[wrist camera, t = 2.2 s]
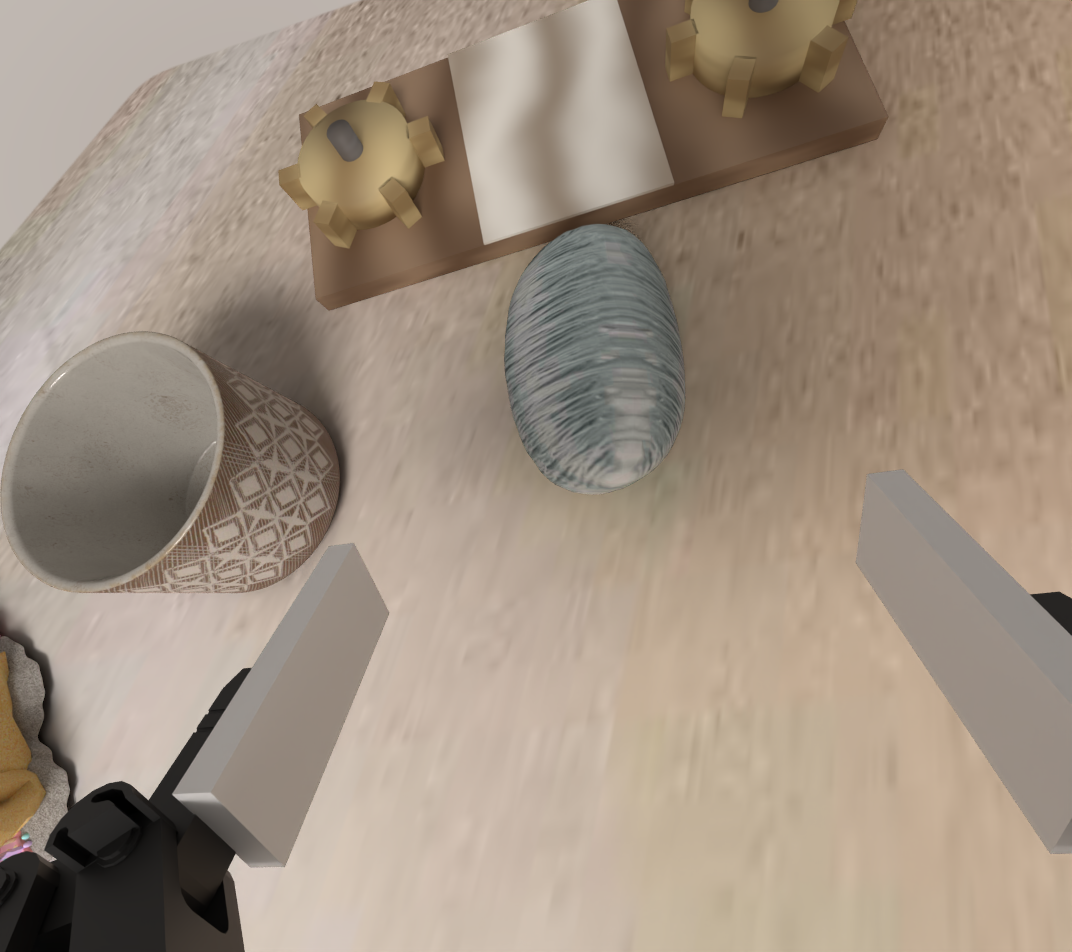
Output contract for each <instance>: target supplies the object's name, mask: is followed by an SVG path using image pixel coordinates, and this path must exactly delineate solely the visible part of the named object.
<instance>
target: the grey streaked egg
mask: <svg viewBox="0 0 1072 952" xmlns="http://www.w3.org/2000/svg"><path fill="white" fill-rule="evenodd" d="M504 362H505V376H506V381H507V387H508V394H509V399H510V405H511V410H512V414H513V418H514V421H515V423H516V426H517V429H518V432H519V435H520V437H521V440H522V442H523V444H524V447H525V449H526V451H527V453H528V454H529V455H530V457H531V458H532V459H533V460H534V462H535V464H536V465H537V467H538V468H539V470H540V471H541V472H542V473H543V474H544V475H545V476H546V477H547V478H548V479H549V480H550V481H551V482H553V483H554V484H555V485H558V486H560V487H562V488H565V489H567V490H569V491H572V492H575V493H580V494H593V495H595V494H604V493H609V492H612V491H614V490H619V489H622V488H624V487H627V486H629V485H631V484H633V483H634V482H636V481H638V480H639V479H641V478H643V477H644V476H645V475H647V474H648V473H650V472H651V471H652V470H654V469H655V468H656V467H657V466H658V465H659V464H660V463H661V462H662V460H663V459H664V458H665V457H666V456H667V454H668V453H669V451H670V449H671V448H672V446H673V444H674V441H675V439H676V437H677V434H678V432H679V430H680V427H681V423H682V420H683V414H684V406H685V374H684V360H683V352H682V346H681V340H680V335H679V330H678V325H677V320H676V317H675V313H674V309H673V305H672V302H671V299H670V296H669V293H668V289H667V286H666V282H665V279H664V277H663V275H662V273H661V271H660V270H659V268H658V266H657V264H656V262H655V261H654V259H653V257H652V256H651V254H650V252H649V251H648V249H647V248H646V247H645V246H644V244H643V243H642V242H641V241H640V240H639V239H638V238H636V237H635V236H634V235H633V234H631V233H630V232H628V231H627V230H625V229H622V228H618V227H615V226H611V225H606V224H592V225H585V226H581V227H579V228H576V229H573V230H569V231H566V232H565V233H563V234H561V235H560V236H558V237H557V238H555V239H554V240H553V241H551V242H550V243H549V244H547V245H546V246H545V247H544V248H543V249H542V250H541V251H540V252H539V253H538V254H537V255H536V256H535V257H534V258H533V260H532V261H531V262H530V264H529V265H528V266H527V268H526V269H525V271H524V272H523V274H522V275H521V277H520V279H519V282H518V284H517V286H516V288H515V291H514V293H513V296H512V299H511V303H510V307H509V312H508V320H507V327H506V335H505V357H504Z"/></svg>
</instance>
